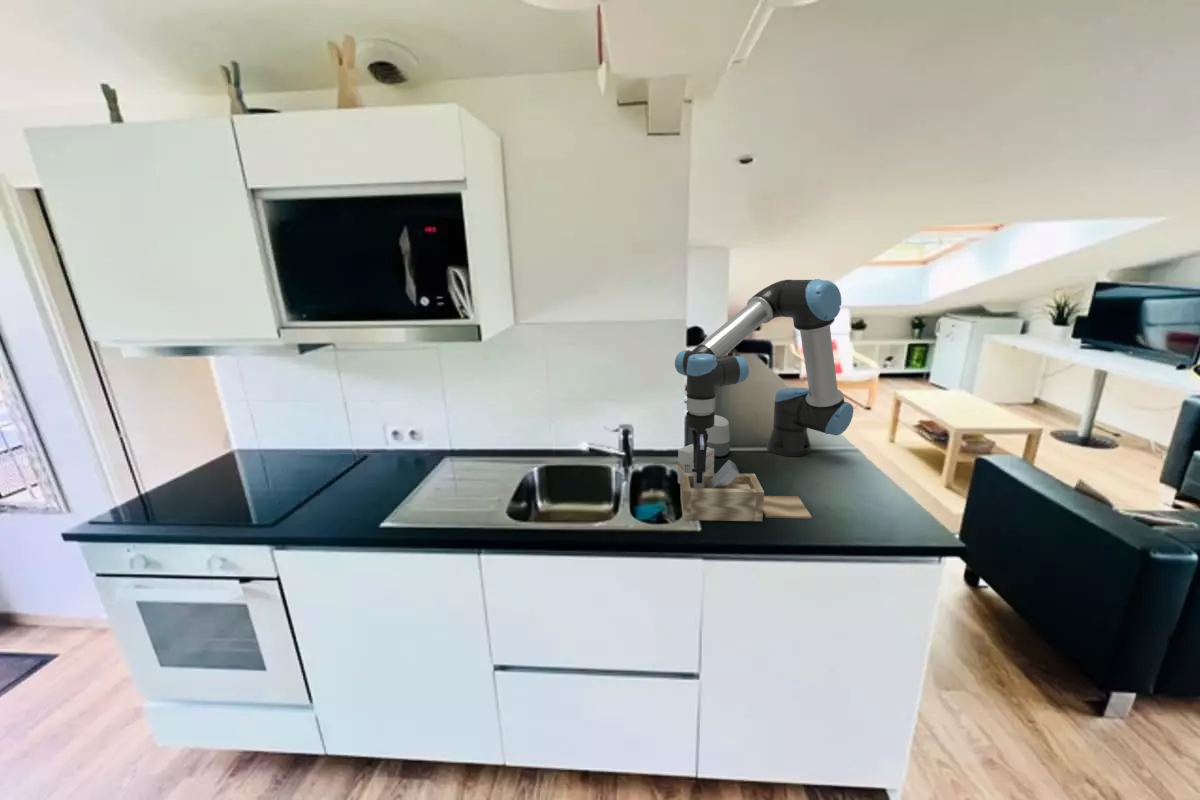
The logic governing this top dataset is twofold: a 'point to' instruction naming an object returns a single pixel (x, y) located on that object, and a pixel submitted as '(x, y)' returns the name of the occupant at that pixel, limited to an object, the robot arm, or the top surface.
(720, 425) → the smart speaker
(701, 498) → the box
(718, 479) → the grey flat bar
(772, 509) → the pad
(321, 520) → the top surface
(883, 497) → the top surface
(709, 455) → the ink box
